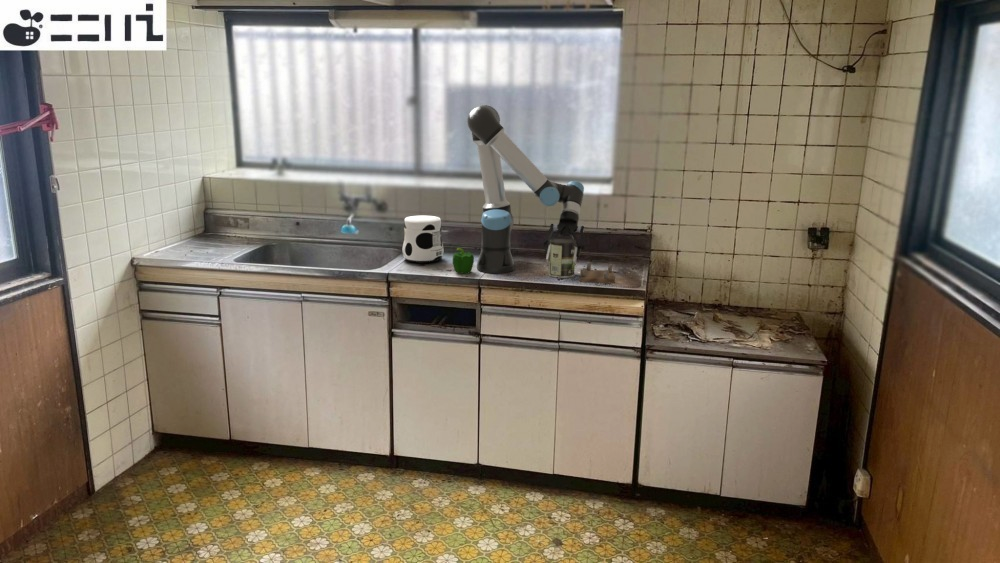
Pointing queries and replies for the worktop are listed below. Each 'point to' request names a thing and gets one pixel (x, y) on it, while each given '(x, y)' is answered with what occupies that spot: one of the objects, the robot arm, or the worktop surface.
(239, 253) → the worktop surface
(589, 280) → the can seat
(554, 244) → the coffee can
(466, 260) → the bell pepper
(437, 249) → the milk container
